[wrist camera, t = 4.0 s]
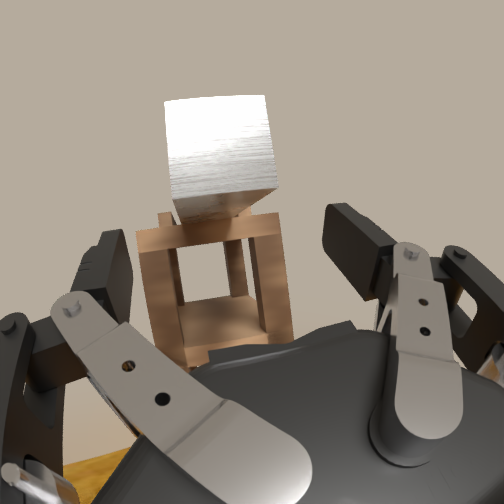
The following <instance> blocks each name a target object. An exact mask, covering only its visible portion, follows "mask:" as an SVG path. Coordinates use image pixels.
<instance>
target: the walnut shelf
mask: <svg viewBox="0 0 504 504" xmlns="http://www.w3.org/2000/svg"><path fill="white" fill-rule="evenodd" d="M158 220H159V228H153V229H147V230H140V231H136V238H137V246H138V253H139V259H140V266H141V273H142V280H143V285H144V292H145V297H146V303H147V308H148V313H149V318H150V323H151V328H152V333H153V338H154V342H155V347H156V348H157V349H158V350H160V351H161V352H162V353H163V354H164V355H166V356H167V357H168V358H169V359H170V360H172V361H173V362H174V363H175V364H176V365H178V366H179V367H180V368H181V369H183V370H184V371H185V372H186V373H189V372H191V371H192V370H194V369H195V368H197V366H199V365H203V364H205V363H208V362H209V357H208V351H209V350H215V349H221V348H227V347H232V346H238V345H243V344H286V343H290V342H292V341H294V336H293V327H292V318H291V309H290V300H289V292H288V283H287V275H286V267H285V259H284V251H283V244H282V236H281V228H280V222H279V214H278V213H269V214H261V215H251V208H250V206H249V207H248V208H246V209H245V210H243V211H242V212H240V213H239V214H237V215H236V216H234V217H233V218H226V219H218V220H211V221H203V222H195V223H188V224H181V225H177V224H176V222H175V220H174V218H173V215H172V213H171V212H166V213H159V214H158ZM244 238H248V241H249V249H250V256H251V263H252V270H253V278H254V285H255V293H256V300H257V301H256V300H254V299H253V298H252V297H250V296H249V293H248V286H247V279H246V272H245V264H244V257H243V250H242V242H241V239H244ZM215 242H223V245H224V253H225V259H226V267H227V274H228V281H229V288H230V296H224V297H217V298H212V299H205V300H199V301H192V302H184V296H183V290H182V284H181V277H180V270H179V264H178V257H177V250H176V248H180V247H187V246H194V245H201V244H208V243H215Z"/></svg>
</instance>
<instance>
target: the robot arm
mask: <svg viewBox="0 0 504 504" xmlns="http://www.w3.org/2000/svg"><path fill="white" fill-rule="evenodd" d="M322 244H323V248H324V251H325V252H326V254H327V255H328V256H329V257H330V259H331V260H332V261H333V262H334V264H335V265H336V266H337V267H338V268H339V270H340V271H341V272H342V273H343V275H344V276H345V277H346V278H347V280H348V281H349V282H350V283H351V284H352V286H353V287H354V288H355V289H356V291H357V292H358V293H359V295H360V296H361V297H362V298H363V300H364V301H369V300H373V299H377V298H378V299H379V301H378V304H377V307H376V314H375V322H374V329H373V331H372V330H357V329H356V328H355V326H354V325H353V323H352V322H351V321H350V320H349V321H345V322H341V323H337V324H334V325H330V326H326V327H322V328H319V329H316V330H315V331H312V332H310V333H308V334H306V335H305V336H302V337H300V338H298V339H296V340H294V341H292V342H290V343H286V344H243V345H238V346H232V347H227V348H221V349H215V350H209V351H208V357H209V362H208V363H205V364H203V365H201V366H199V367H197V368H195V369H194V370H192V371H191V372H189V373H186V372H185V371H184V370H183V369H181V368H180V367H179V366H178V365H176V364H175V363H174V362H173V361H172V360H170V359H169V358H168V357H167V356H166V355H164V354H163V353H162V352H161V351H160V350H158V349H157V348H156V347H155V346H154V345H153V344H151V343H150V342H149V341H148V340H147V339H146V338H144V337H143V336H142V335H141V334H140V333H139V332H138V331H137V330H136V329H135V328H134V327H132V326H131V325H130V324H129V317H130V306H131V296H132V286H133V271H132V265H131V261H130V257H129V253H128V249H127V245H126V241H125V236H124V233H123V230H122V229H117V230H111V231H105V232H102V235H101V237H100V240H99V243H98V245H97V246H92V247H91V248H90V249H89V250H88V251H87V252H86V253H85V254H84V255H83V258H82V260H81V263H80V264H81V265H80V266H79V268H78V272H77V273H76V276H75V279H74V282H73V284H72V287H71V290H70V293H67V294H65V295H63V296H61V297H60V298H59V299H58V300H57V301H56V302H55V303H54V304H53V306H52V308H51V312H50V314H51V316H49V317H47V318H44V319H41V320H38V321H36V322H33V323H30V322H29V320H28V318H27V317H26V315H24V314H23V313H18V312H17V313H12V314H9V315H7V316H5V317H4V318H3V319H1V320H0V504H80V502H79V498H78V494H77V492H76V490H75V488H74V487H73V485H72V484H71V483H70V482H69V481H68V480H66V479H65V478H63V456H62V441H63V436H62V435H63V411H64V396H65V385H66V384H67V383H70V382H73V381H76V380H78V379H81V378H84V377H87V378H88V380H89V381H90V383H91V384H92V385H93V386H94V388H95V389H96V390H97V391H98V393H99V394H100V395H101V397H102V398H103V399H104V400H105V402H106V403H107V404H108V405H109V407H110V408H111V409H112V410H113V411H114V412H115V414H116V415H117V416H118V417H119V418H120V420H121V421H122V422H123V423H124V424H125V426H126V427H127V428H128V429H129V430H130V431H131V433H132V434H133V435H134V436H135V437H136V438H137V440H136V441H135V442H134V444H133V445H132V447H131V448H130V449H129V451H128V452H127V454H126V455H125V456H124V458H123V459H122V461H121V462H120V463H119V465H118V466H117V468H116V469H115V470H114V472H113V473H112V475H111V476H110V477H109V479H108V480H107V482H106V483H105V484H104V486H103V487H102V489H101V490H100V491H99V493H98V494H97V496H96V497H95V498H94V500H93V501H92V503H91V504H504V284H503V283H502V282H501V281H500V280H499V279H498V278H497V277H496V276H495V275H494V274H493V273H492V272H491V271H490V270H489V269H487V268H486V267H485V266H484V265H483V264H482V263H481V262H480V261H478V259H476V258H475V257H474V256H473V255H472V254H471V253H469V252H468V251H467V250H465V249H463V248H461V247H458V246H452V245H450V246H446V247H445V248H444V251H443V254H442V257H441V258H440V257H429V254H428V253H427V251H426V250H425V249H423V248H422V247H420V246H418V245H416V244H413V243H407V242H400V243H397V242H396V241H395V240H394V239H393V238H391V237H390V236H389V235H388V234H387V233H386V232H385V231H383V230H381V228H380V227H379V226H377V225H375V223H374V222H372V221H371V220H370V219H369V218H367V217H365V216H363V215H361V214H359V213H358V212H357V211H355V210H354V209H353V208H352V207H351V206H349V205H348V204H347V203H336V204H328V205H327V207H326V210H325V219H324V228H323V236H322ZM464 289H465V290H466V291H467V292H468V294H469V295H470V296H471V297H472V298H473V299H474V300H475V301H476V304H477V313H476V315H475V317H474V319H473V321H472V320H471V319H470V318H469V317H468V316H467V315H466V314H465V312H464V311H463V310H462V309H461V308H460V307H459V306H458V305H457V303H458V301H459V298H460V296H461V294H462V292H463V290H464ZM453 350H454V351H455V353H456V354H457V355H458V357H459V358H460V360H461V361H462V362H463V364H464V365H465V367H466V368H467V369H468V370H467V369H465V368H463V367H460V365H459V363H458V362H456V361H455V360H454V358H453ZM25 383H26V385H25ZM24 385H25V390H24ZM23 391H24V395H23Z"/></svg>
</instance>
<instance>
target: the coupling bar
mask: <svg viewBox="0 0 504 504" xmlns="http://www.w3.org/2000/svg"><path fill="white" fill-rule="evenodd" d="M165 114H166V131H167V146H168V157H169V170H170V180H171V190H172V200H173V202H174V205H175V208H176V211H177V213H178V216H179V218H180V222H181V224H188V223H195V222H203V221H211V220H218V219H226V218H233V217H234V216H236V215H237V214H239V213H240V212H242V211H243V210H245V209H246V208H248V207H249V206H251V205H253V204H254V203H255V202H257V201H259V200H260V199H262V198H263V197H265V196H266V195H268V194H269V193H271V192H273V191H274V190H276V189H277V188H278V187H279V186H278V180H277V173H276V167H275V161H274V154H273V147H272V141H271V135H270V129H269V123H268V117H267V111H266V105H265V99H264V95H249V96H248V95H247V96H225V97H209V98H197V99H186V100H177V101H169V102H165Z"/></svg>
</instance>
